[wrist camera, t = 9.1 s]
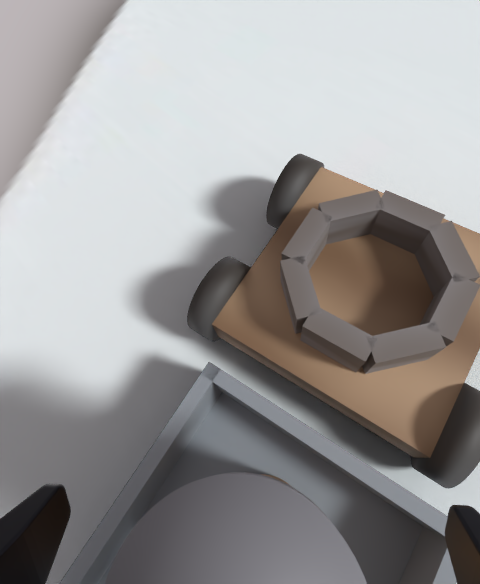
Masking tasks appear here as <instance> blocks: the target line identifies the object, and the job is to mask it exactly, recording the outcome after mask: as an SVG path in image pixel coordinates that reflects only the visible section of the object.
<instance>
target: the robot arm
mask: <svg viewBox="0 0 480 584" xmlns="http://www.w3.org/2000/svg"><path fill="white" fill-rule="evenodd" d="M70 512H71V511H70V504H69V501H68V498H67V494H66V491H65V488H64V486H63V485H61V484H46V485H44V486H42V487H41V488H40V489H38V490H37V491H36V492H34V493H33V494H32V495H31V496H29V497H28V498H27V499H25V500H24V501H23V502H21V503H20V504H19V505H18V506H16V507H15V508H14V509H12V510H11V511H10V512H9V513H7V514H6V515H5V516H3V517H2V518H1V519H0V584H45V583H46V580H47V578H48V575H49V573H50V570H51V567H52V564H53V562H54V559H55V556H56V554H57V551H58V548H59V545H60V543H61V540H62V537H63V534H64V532H65V529H66V526H67V523H68V521H69V518H70ZM445 540H446V545H447V548H448V552H449V555H450V559H451V563H452V566H453V570H454V574H455V577H456V581H457V584H480V514H479V513H478V512H477V511H476V510H475V509H474V508H472V507H470V506H464V505H452V506H451V507H450V509H449V513H448V518H447V522H446V527H445Z"/></svg>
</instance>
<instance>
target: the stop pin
mask: <svg viewBox="0 0 480 584" xmlns="http://www.w3.org/2000/svg"><path fill="white" fill-rule="evenodd" d="M105 584H367V582H366V579H365V577H364V575H363V573H362V570H361V568H360V566H359V564H358V562H357V560H356V558H355V556H354V554H353V553H352V551H351V549H350V548H349V546H348V544H347V543H346V541H345V539H344V538H343V537H342V535H341V534H340V533H339V532H338V530H337V529H336V528H335V526H334V525H333V524H332V522H331V521H330V520H329V518H328V517H327V516H326V515H325V514H324V513H323V512H322V511H321V510H320V508H319V507H318V506H317V505H316V504H315V503H314V502H312V501H311V500H310V499H309V498H307V497H306V496H305V495H304V494H302V493H301V492H299V491H298V490H296V489H295V488H293V487H292V486H291V485H289V484H288V483H287V482H285V481H284V480H282V479H280V478H278V477H276V476H272V475H266V474H254V473H247V472H231V473H224V474H218V475H214V476H210V477H206V478H203V479H200V480H197V481H194V482H191V483H189V484H187V485H185V486H183V487H180V488H178V489H176V490H175V491H173V492H172V493H170V494H169V495H167V496H166V497H164V498H163V499H161V500H160V501H159V502H158V503H157V504H156V505H154V506H153V507H152V508H151V509H150V510H149V511H148V512H147V513H146V514H145V515H144V516H143V517H142V518H141V519H140V521H139V522H138V523H137V524H136V525H135V527H134V528H133V529H132V531H131V532H130V534H129V535H128V536H127V538H126V539H125V541H124V543H123V544H122V546H121V548H120V550H119V551H118V553H117V555H116V557H115V559H114V562H113V564H112V566H111V569H110V571H109V573H108V576H107V579H106V582H105Z"/></svg>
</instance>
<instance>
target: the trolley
mask: <svg viewBox="0 0 480 584" xmlns="http://www.w3.org/2000/svg"><path fill="white" fill-rule="evenodd" d="M444 216H445V215H444V214H441V213H439V212H437V211H434V210H432V209H429V208H427V207H425V206H422V205H420V204H417V203H415V202H413V201H410V200H408V199H406V198H403V197H401V196H398V195H396V194H394V193H391V192H389V191H385V192H384V193H382V192H379V191H378V190H375V189H372V188H370V187H368V186H365V185H363V184H360V183H358V182H356V181H353V180H351V179H349V178H346V177H344V176H341V175H339V174H337V173H334V172H332V171H330V170H327V169H325V168H324V164H323V163H322V162H319V161H317V160H314V159H312V158H310V157H307V156H305V155H302V154H297V155H296V156H294V157H293V158H292V159H291V160H290V161H289V162H288V164H287V165H286V166H285V168H284V169H283V171H282V172H281V174H280V176H279V178H278V180H277V182H276V184H275V186H274V188H273V191H272V194H271V196H270V200H269V203H268V207H267V214H266V218H267V222H268V224H269V225H271V226H273V227H275V228H277V229H278V230H277V231H276V233H275V234H274V235H273V237H272V238H271V240H270V241H269V243H268V244H267V245H266V247H265V248H264V250H263V251H262V253H261V254H260V256H259V257H258V258H257V260H256V261H255V263H254V264H253V266H252V267H249V266H247V265H245V264H243V263H241V262H240V261H238V260H236V259H234V258H232V257H226V258H224V259H222V260H220V261H219V262H218V263H217V264H215V265H214V266H213V267H212V268H211V270H210V271H209V272H208V273H207V275H206V276H205V277H204V279H203V280H202V282H201V283H200V285H199V287H198V288H197V290H196V292H195V294H194V296H193V299H192V301H191V304H190V307H189V311H188V316H187V322H188V326H189V327H190V328H191V329H193V330H194V331H196V332H197V333H199V334H201V335H202V336H204V337H205V338H207V339H209V340H210V341H216V340H218V339H220V338H221V339H223V340H225V341H226V342H228V343H230V344H231V345H233V346H234V347H236V348H238V349H239V350H241V351H242V352H244V353H246V354H247V355H249V356H251V357H252V358H254V359H255V360H257V361H259V362H260V363H262V364H263V365H265V366H267V367H268V368H270V369H272V370H273V371H275V372H276V373H278V374H280V375H281V376H283V377H284V378H286V379H288V380H289V381H291V382H293V383H294V384H296V385H297V386H299V387H301V388H302V389H304V390H305V391H307V392H309V393H310V394H312V395H313V396H315V397H317V398H318V399H320V400H322V401H323V402H325V403H326V404H328V405H330V406H331V407H333V408H334V409H336V410H338V411H339V412H341V413H343V414H344V415H346V416H347V417H349V418H351V419H352V420H354V421H355V422H357V423H359V424H360V425H362V426H364V427H365V428H367V429H368V430H370V431H372V432H373V433H375V434H376V435H378V436H380V437H381V438H383V439H385V440H386V441H388V442H389V443H391V444H393V445H394V446H396V447H397V448H399V449H401V450H402V451H404V452H405V453H407V454H409V455H410V456H411V464H412V467H413V468H414V469H416V470H417V471H419V472H420V473H422V474H424V475H425V476H427V477H428V478H430V479H432V480H433V481H435V482H436V483H438V484H439V485H441V486H443V487H444V488H453V487H455V486H457V485H458V484H460V483H461V482H462V481H464V480H465V479H466V478H467V477H468V476H469V475H470V473H471V472H472V471H473V470H474V469H475V467H476V466H477V465H478V463H479V462H480V391H479V390H477V389H475V388H473V387H471V386H469V385H468V384H466V383H464V382H465V379H466V377H467V375H468V373H469V371H470V368H471V366H472V364H473V362H474V359H475V357H476V355H477V353H478V351H479V348H480V234H479V233H477V232H474V231H472V230H469V229H467V228H465V227H462V226H460V225H458V224H455V223H453V222H452V221H448V220H446V219H443V218H444Z"/></svg>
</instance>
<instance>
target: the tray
mask: <svg viewBox="0 0 480 584" xmlns="http://www.w3.org/2000/svg"><path fill="white" fill-rule="evenodd" d="M231 472H247V473H254V474H266V475H272V476H276V477H278V478H280V479H282V480H284V481H285V482H287V483H288V484H289V485H291V486H292V487H293V488H295V489H296V490H298V491H299V492H301V493H302V494H304V495H305V496H306V497H307V498H309V499H310V500H311V501H312V502H314V503H315V504H316V505H317V506H318V507H319V508H320V510H321V511H322V512H323V513H324V514H325V515H326V516H327V517H328V518H329V520H330V521H331V522H332V524H333V525H334V526H335V528H336V529H337V530H338V532H339V533H340V534H341V535H342V537H343V538H344V539H345V541H346V543H347V544H348V546H349V548H350V549H351V551H352V553H353V554H354V556H355V558H356V560H357V562H358V564H359V566H360V568H361V570H362V573H363V575H364V577H365V579H366V582H367V584H456V583H457V581H456V577H455V574H454V570H453V566H452V563H451V559H450V555H449V552H448V548H447V545H446V540H445V527H446V522H447V518H448V516H446V515H445V514H443V513H442V512H440V511H439V510H437V509H435V508H434V507H432V506H431V505H429V504H428V503H426V502H425V501H423V500H422V499H420V498H418V497H417V496H415V495H414V494H412V493H411V492H409V491H408V490H406V489H405V488H403V487H401V486H400V485H398V484H397V483H395V482H394V481H392V480H391V479H389V478H388V477H386V476H385V475H383V474H381V473H380V472H378V471H377V470H375V469H374V468H372V467H371V466H369V465H368V464H366V463H364V462H363V461H361V460H360V459H358V458H357V457H355V456H354V455H352V454H351V453H349V452H348V451H346V450H344V449H343V448H341V447H340V446H338V445H337V444H335V443H334V442H332V441H331V440H329V439H327V438H326V437H324V436H323V435H321V434H320V433H318V432H317V431H315V430H314V429H312V428H311V427H309V426H307V425H306V424H304V423H303V422H301V421H300V420H298V419H297V418H295V417H294V416H292V415H290V414H289V413H287V412H286V411H284V410H283V409H281V408H280V407H278V406H277V405H275V404H273V403H272V402H270V401H269V400H267V399H266V398H264V397H263V396H261V395H260V394H258V393H257V392H255V391H253V390H252V389H250V388H249V387H247V386H246V385H244V384H243V383H241V382H240V381H238V380H236V379H235V378H233V377H232V376H230V375H229V374H227V373H226V372H224V371H223V370H221V369H220V368H218V367H216V366H215V365H213V364H212V363H210V362H208V364H207V365H206V367H205V368H204V370H203V371H202V373H201V374H200V376H199V377H198V379H197V380H196V382H195V383H194V385H193V386H192V388H191V389H190V391H189V392H188V394H187V395H186V397H185V398H184V399H183V401H182V402H181V404H180V405H179V407H178V408H177V410H176V411H175V413H174V414H173V416H172V417H171V419H170V420H169V422H168V423H167V425H166V426H165V428H164V429H163V431H162V432H161V434H160V435H159V437H158V438H157V440H156V441H155V442H154V444H153V445H152V447H151V448H150V450H149V451H148V453H147V454H146V456H145V457H144V459H143V460H142V462H141V463H140V465H139V466H138V468H137V469H136V471H135V472H134V474H133V475H132V477H131V478H130V480H129V481H128V483H127V484H126V486H125V487H124V488H123V490H122V491H121V493H120V494H119V496H118V497H117V499H116V500H115V502H114V503H113V505H112V506H111V508H110V509H109V511H108V512H107V514H106V515H105V517H104V518H103V520H102V521H101V523H100V524H99V526H98V527H97V529H96V530H95V531H94V533H93V534H92V536H91V537H90V539H89V540H88V542H87V543H86V545H85V546H84V548H83V549H82V551H81V552H80V554H79V555H78V557H77V558H76V560H75V561H74V563H73V564H72V566H71V567H70V569H69V570H68V572H67V573H66V575H65V576H64V577H63V579H62V580H61V582H60V583H59V584H105V582H106V579H107V576H108V573H109V571H110V569H111V566H112V564H113V562H114V559H115V557H116V555H117V553H118V551H119V550H120V548H121V546H122V544H123V543H124V541H125V539H126V538H127V536H128V535H129V534H130V532H131V531H132V529H133V528H134V527H135V525H136V524H137V523H138V522H139V521H140V519H141V518H142V517H143V516H144V515H145V514H146V513H147V512H148V511H149V510H150V509H151V508H152V507H153V506H154V505H156V504H157V503H158V502H159V501H160V500H161V499H163V498H164V497H166V496H167V495H169V494H170V493H172V492H173V491H175V490H176V489H178V488H180V487H183V486H185V485H187V484H189V483H191V482H194V481H197V480H200V479H203V478H206V477H210V476H214V475H218V474H224V473H231Z"/></svg>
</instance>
